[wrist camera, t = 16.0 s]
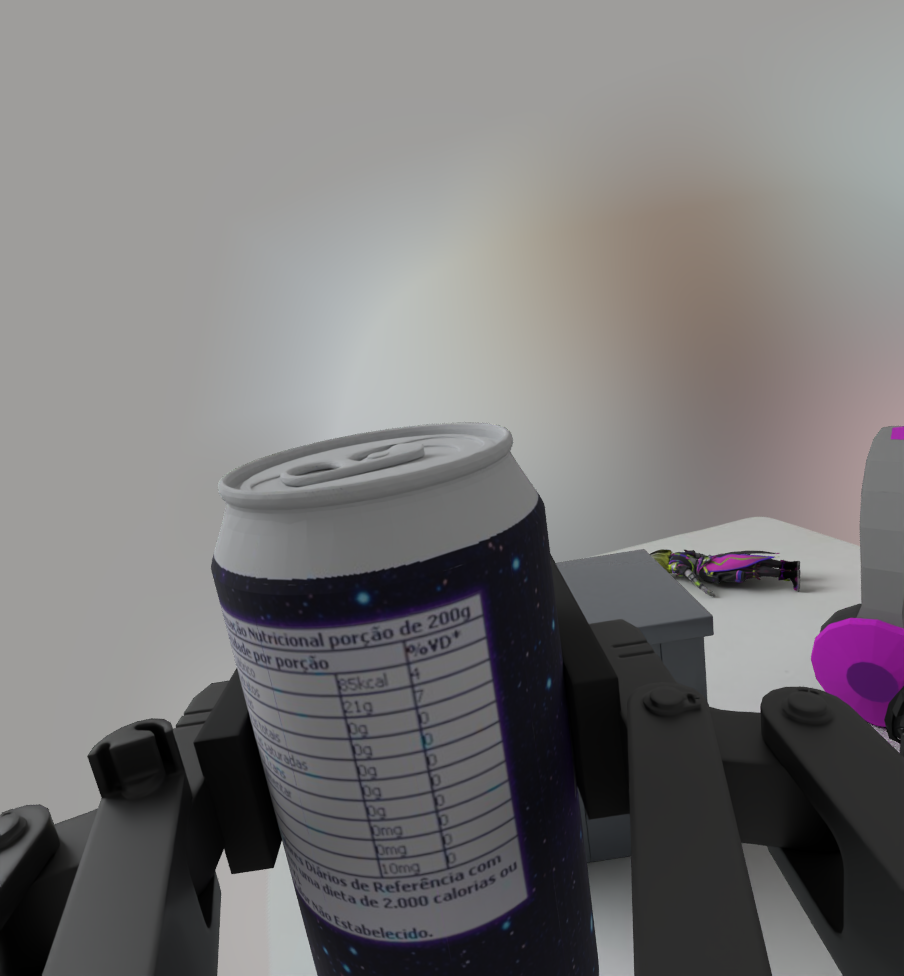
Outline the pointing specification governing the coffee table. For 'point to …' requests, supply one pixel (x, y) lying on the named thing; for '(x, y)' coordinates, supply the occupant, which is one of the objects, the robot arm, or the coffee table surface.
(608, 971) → the coffee table surface
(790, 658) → the coffee table surface
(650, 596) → the cabinet
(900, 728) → the camera
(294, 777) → the beverage can
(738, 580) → the character figure
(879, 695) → the headphones
